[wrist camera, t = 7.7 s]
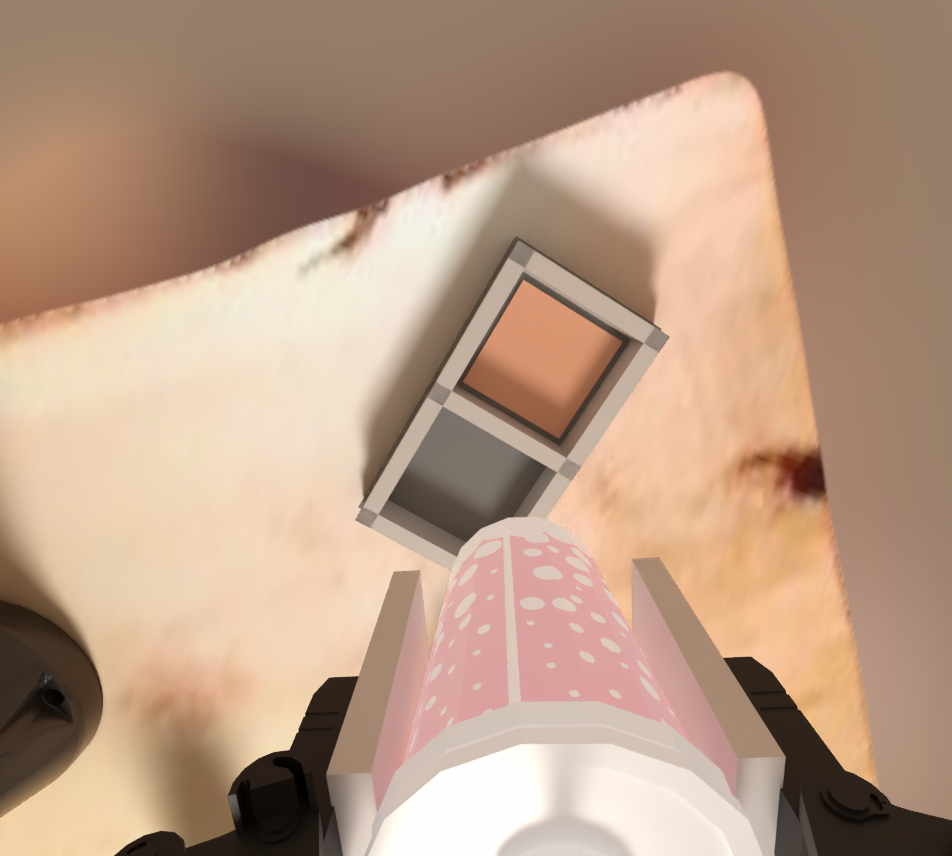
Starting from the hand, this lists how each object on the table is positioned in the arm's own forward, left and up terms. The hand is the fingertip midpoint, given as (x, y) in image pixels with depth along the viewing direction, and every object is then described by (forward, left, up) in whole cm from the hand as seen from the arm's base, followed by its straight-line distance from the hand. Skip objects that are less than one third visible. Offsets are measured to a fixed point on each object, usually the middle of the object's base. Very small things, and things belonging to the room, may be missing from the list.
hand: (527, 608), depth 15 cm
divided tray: (0, +1, -20) cm, 20 cm away
